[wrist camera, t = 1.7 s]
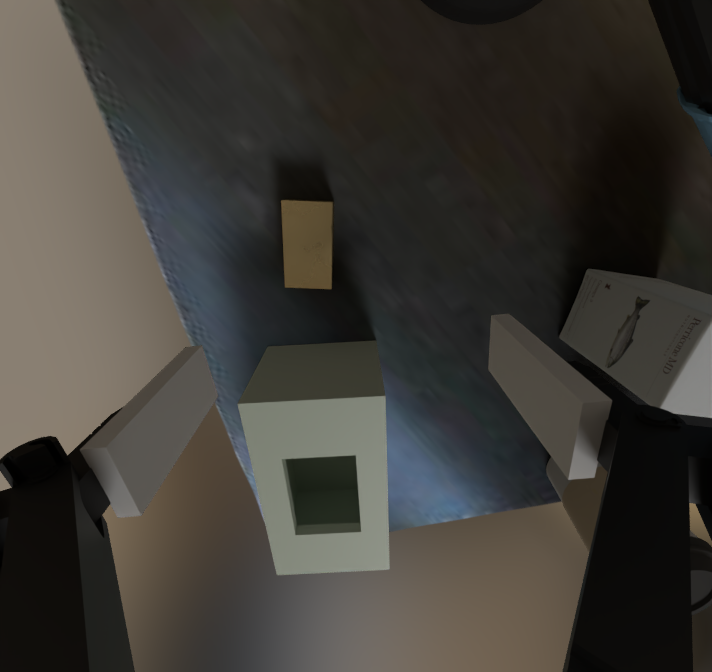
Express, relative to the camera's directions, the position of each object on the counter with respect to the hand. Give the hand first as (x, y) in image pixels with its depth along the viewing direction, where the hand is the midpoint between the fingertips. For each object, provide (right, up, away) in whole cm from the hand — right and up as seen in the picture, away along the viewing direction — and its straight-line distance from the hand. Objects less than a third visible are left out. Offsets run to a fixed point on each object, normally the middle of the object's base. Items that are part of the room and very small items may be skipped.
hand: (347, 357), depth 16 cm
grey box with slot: (-2, -9, +23) cm, 25 cm away
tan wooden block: (-4, +9, +15) cm, 18 cm away
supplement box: (+25, +4, +18) cm, 31 cm away
